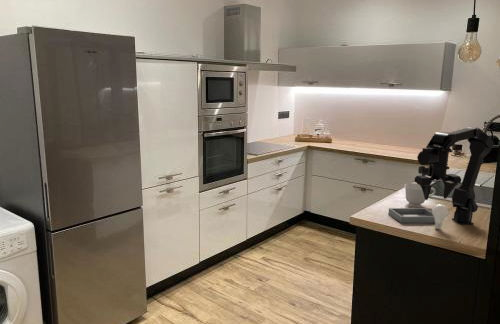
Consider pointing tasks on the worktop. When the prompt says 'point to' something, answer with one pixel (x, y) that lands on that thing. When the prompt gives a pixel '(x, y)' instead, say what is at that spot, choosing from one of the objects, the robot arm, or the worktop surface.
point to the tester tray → (411, 215)
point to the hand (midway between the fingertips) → (435, 199)
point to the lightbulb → (439, 214)
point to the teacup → (415, 194)
